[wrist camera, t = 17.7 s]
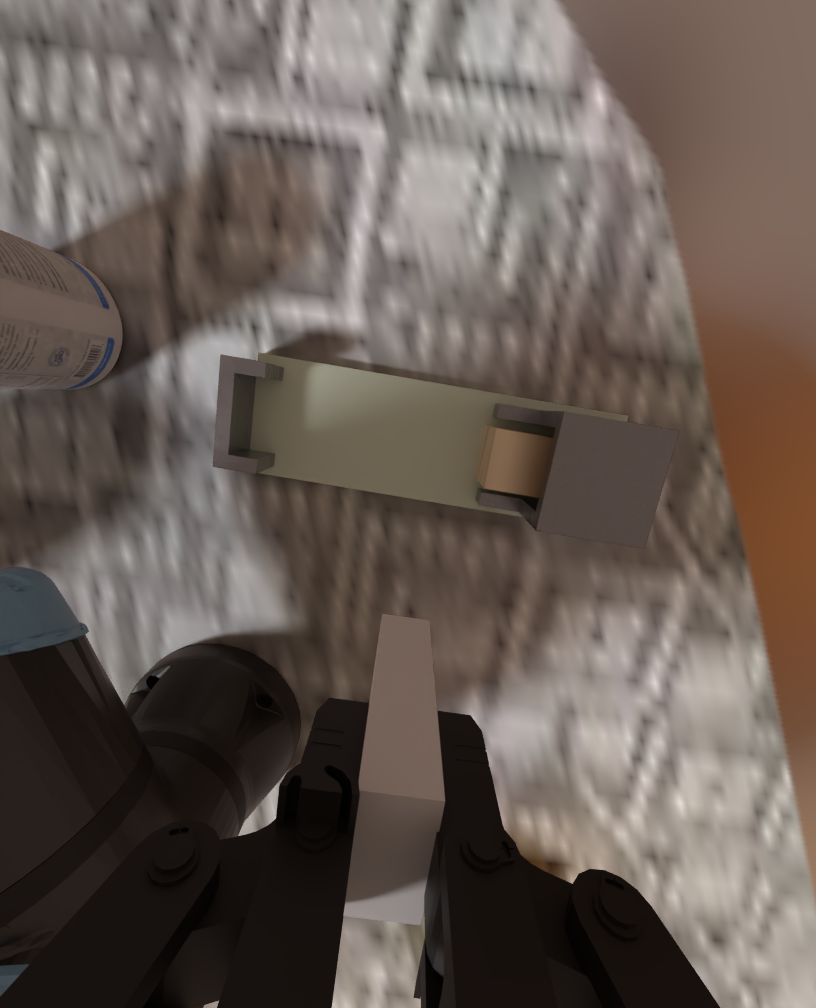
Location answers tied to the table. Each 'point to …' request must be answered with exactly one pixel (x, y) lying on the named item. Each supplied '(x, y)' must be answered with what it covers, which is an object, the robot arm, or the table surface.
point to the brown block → (512, 461)
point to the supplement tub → (53, 320)
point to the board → (382, 430)
